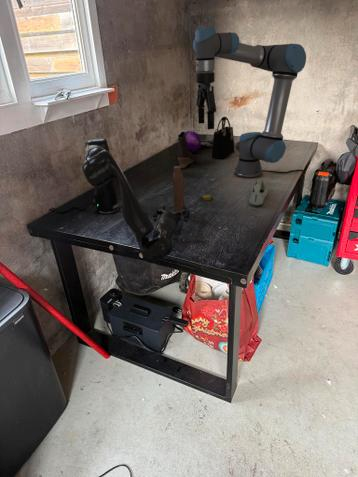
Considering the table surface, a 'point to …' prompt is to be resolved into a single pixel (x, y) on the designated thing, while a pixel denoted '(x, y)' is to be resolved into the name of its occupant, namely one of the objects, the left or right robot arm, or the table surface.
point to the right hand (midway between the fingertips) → (205, 126)
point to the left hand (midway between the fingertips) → (174, 207)
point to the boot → (184, 151)
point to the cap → (206, 197)
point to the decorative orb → (193, 141)
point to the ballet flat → (258, 193)
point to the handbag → (223, 140)
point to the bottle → (178, 188)
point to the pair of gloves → (207, 141)
